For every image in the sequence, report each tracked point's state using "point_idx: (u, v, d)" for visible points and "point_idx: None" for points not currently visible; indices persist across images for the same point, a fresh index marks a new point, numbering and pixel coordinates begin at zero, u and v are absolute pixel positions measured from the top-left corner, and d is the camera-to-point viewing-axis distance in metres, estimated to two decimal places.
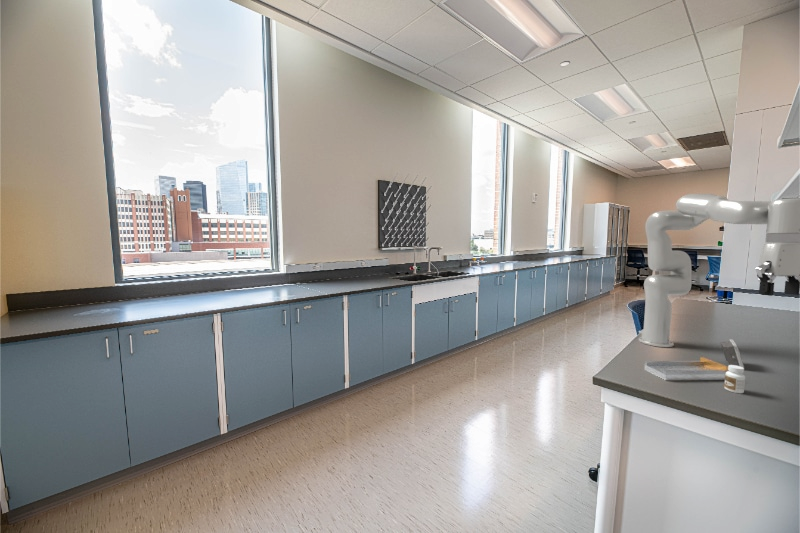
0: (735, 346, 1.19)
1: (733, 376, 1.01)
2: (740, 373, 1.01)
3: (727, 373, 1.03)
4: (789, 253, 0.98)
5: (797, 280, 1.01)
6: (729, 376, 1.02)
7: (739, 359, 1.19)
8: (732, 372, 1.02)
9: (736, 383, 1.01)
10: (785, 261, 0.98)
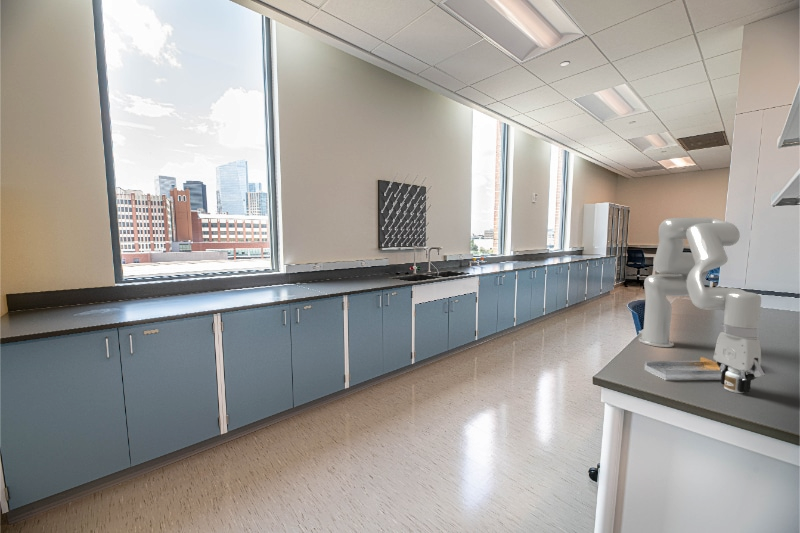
0: None
1: (733, 376, 1.01)
2: None
3: (727, 373, 1.03)
4: None
5: None
6: (729, 376, 1.02)
7: None
8: (732, 372, 1.02)
9: (736, 383, 1.01)
10: None
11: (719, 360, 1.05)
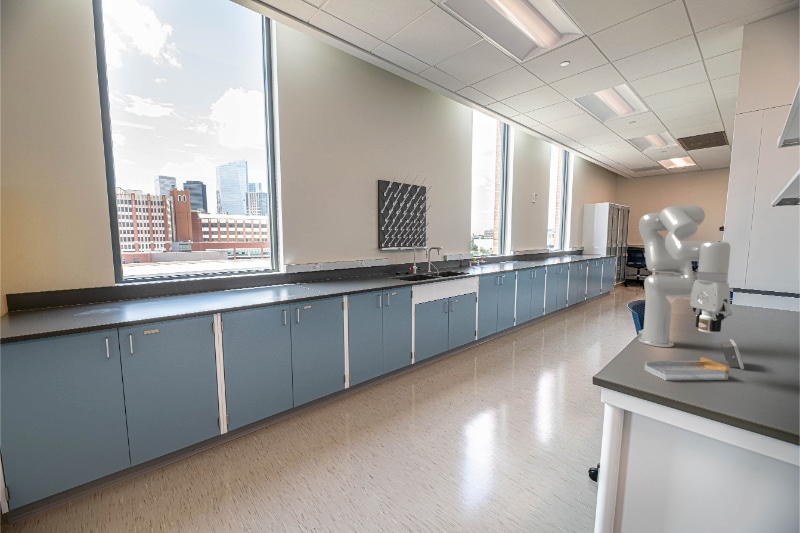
0: (735, 346, 1.19)
1: (705, 318, 1.12)
2: None
3: (701, 316, 1.14)
4: None
5: None
6: (702, 318, 1.13)
7: (739, 359, 1.19)
8: (705, 314, 1.13)
9: (708, 324, 1.12)
10: None
11: (694, 305, 1.15)
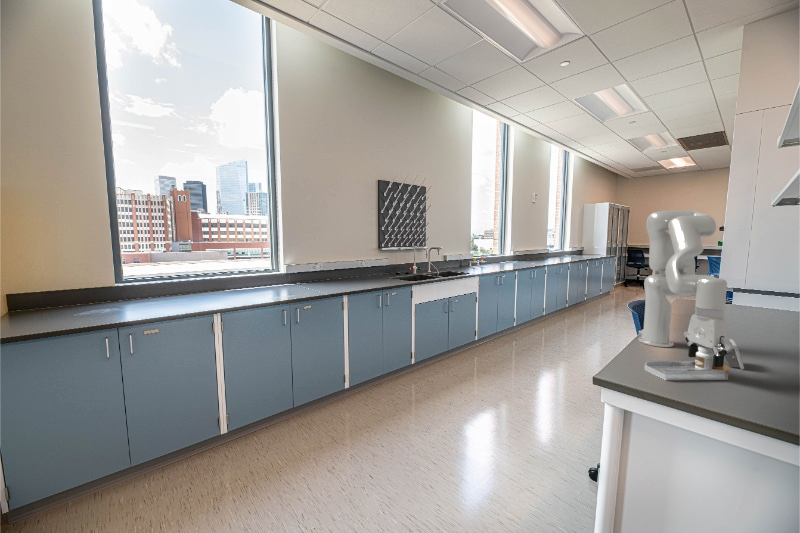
0: (735, 346, 1.19)
1: (702, 355, 1.13)
2: (708, 353, 1.13)
3: (697, 353, 1.15)
4: None
5: (696, 345, 1.19)
6: (699, 355, 1.14)
7: (739, 359, 1.19)
8: (701, 352, 1.14)
9: (704, 361, 1.13)
10: None
11: (691, 339, 1.17)
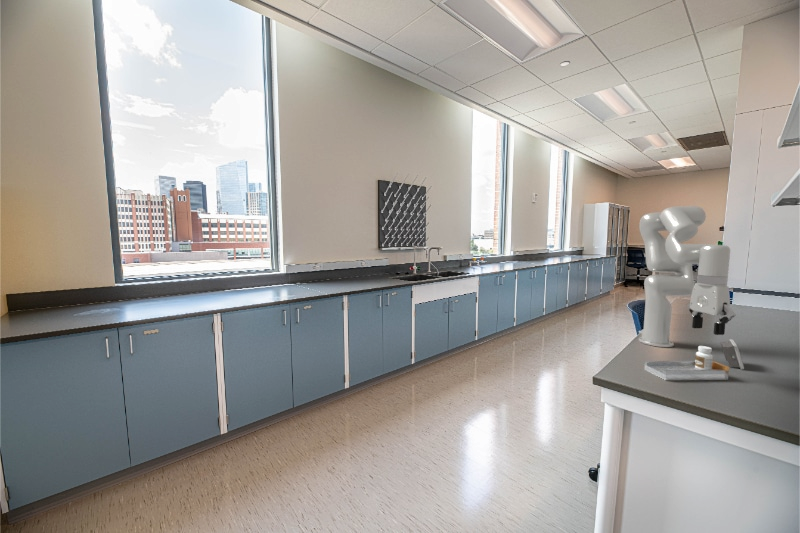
0: (735, 346, 1.19)
1: (702, 355, 1.13)
2: (708, 353, 1.13)
3: (697, 353, 1.15)
4: None
5: (700, 315, 1.17)
6: (699, 355, 1.14)
7: (739, 359, 1.19)
8: (701, 352, 1.14)
9: (704, 361, 1.13)
10: None
11: (694, 308, 1.16)
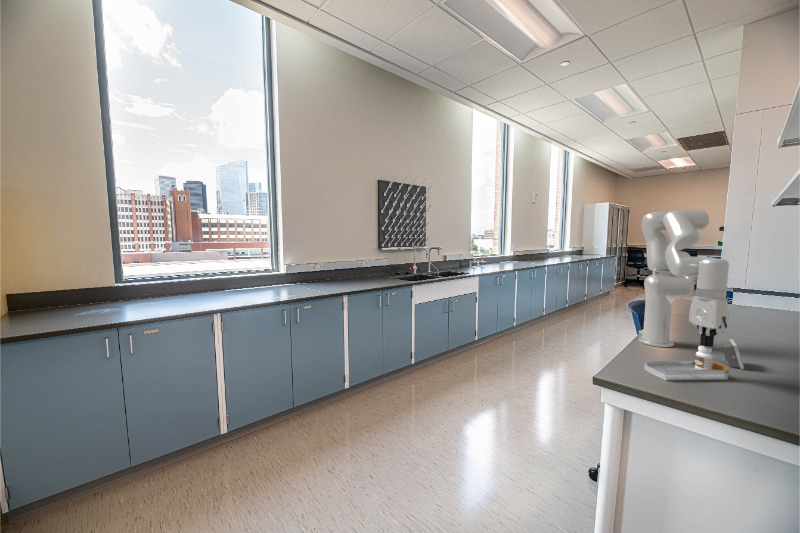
0: (735, 346, 1.19)
1: (702, 355, 1.13)
2: (708, 353, 1.13)
3: (697, 353, 1.15)
4: None
5: None
6: (699, 355, 1.14)
7: (739, 359, 1.19)
8: (701, 352, 1.14)
9: (704, 361, 1.13)
10: None
11: (693, 321, 1.16)
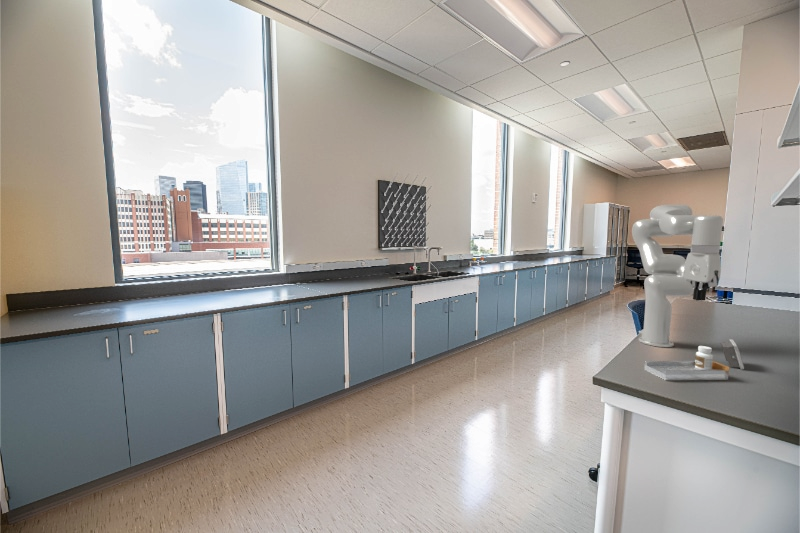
0: (735, 346, 1.19)
1: (702, 355, 1.13)
2: (708, 353, 1.13)
3: (697, 353, 1.15)
4: None
5: None
6: (699, 355, 1.14)
7: (739, 359, 1.19)
8: (701, 352, 1.14)
9: (704, 361, 1.13)
10: None
11: (687, 277, 1.21)
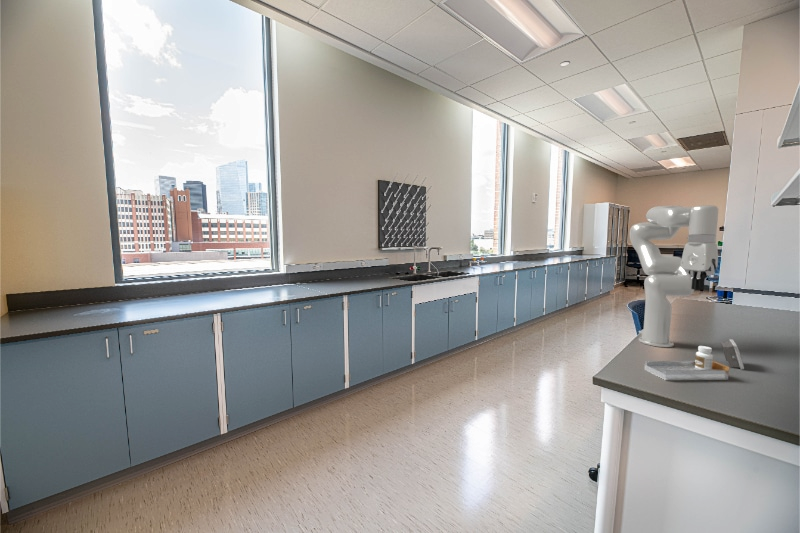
0: (735, 346, 1.19)
1: (702, 355, 1.13)
2: (708, 353, 1.13)
3: (697, 353, 1.15)
4: None
5: None
6: (699, 355, 1.14)
7: (739, 359, 1.19)
8: (701, 352, 1.14)
9: (704, 361, 1.13)
10: None
11: (685, 267, 1.22)
